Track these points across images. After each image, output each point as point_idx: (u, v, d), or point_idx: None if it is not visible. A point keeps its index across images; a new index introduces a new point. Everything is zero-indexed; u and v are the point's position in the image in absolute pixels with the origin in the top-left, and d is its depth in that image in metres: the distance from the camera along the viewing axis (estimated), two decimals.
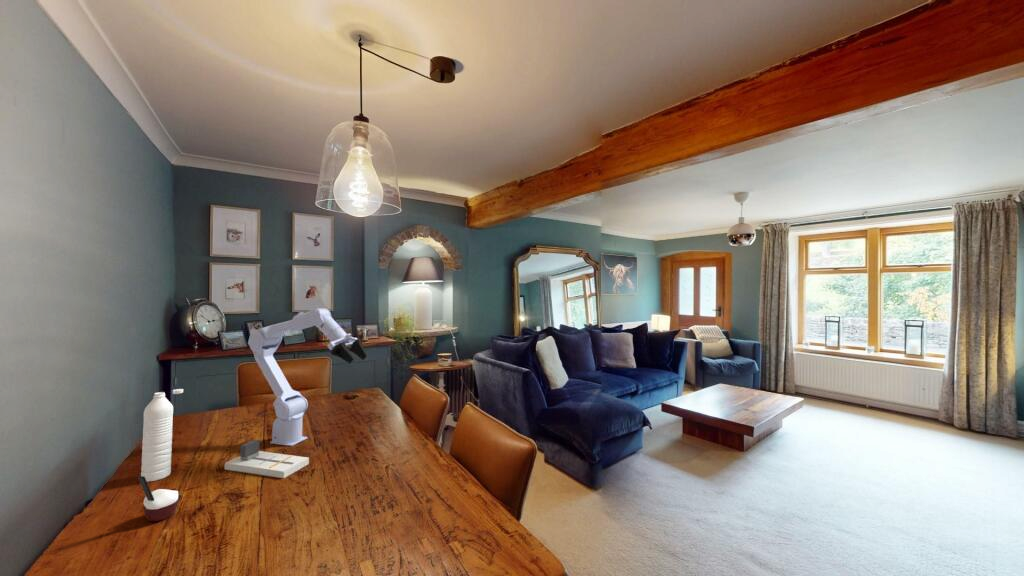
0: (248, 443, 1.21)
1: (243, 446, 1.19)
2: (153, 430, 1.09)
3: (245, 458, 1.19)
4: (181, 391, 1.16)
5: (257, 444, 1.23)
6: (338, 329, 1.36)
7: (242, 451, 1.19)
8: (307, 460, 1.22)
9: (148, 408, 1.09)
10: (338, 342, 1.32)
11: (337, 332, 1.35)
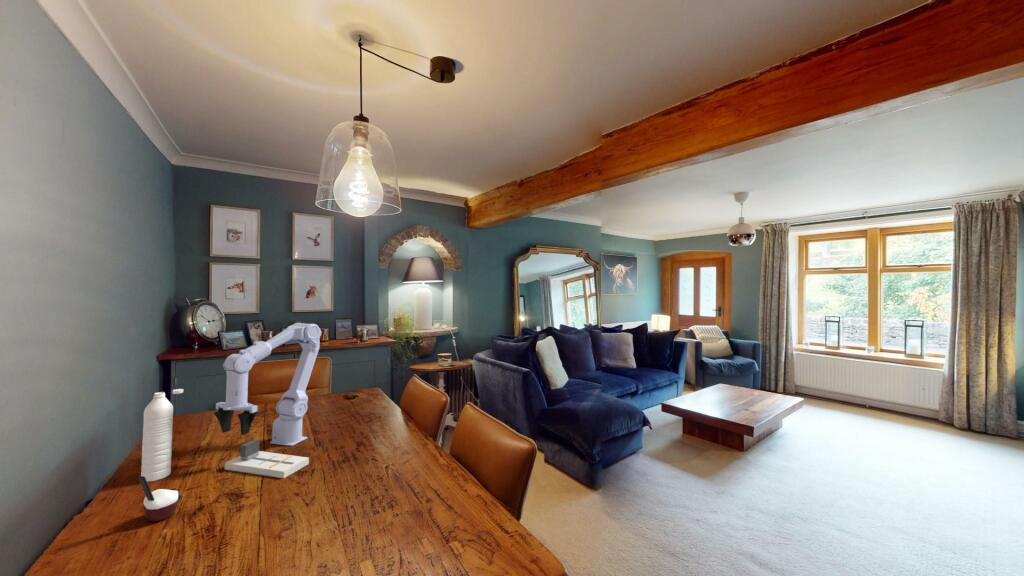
0: (248, 443, 1.21)
1: (243, 446, 1.19)
2: (153, 430, 1.09)
3: (245, 458, 1.19)
4: (181, 391, 1.16)
5: (257, 444, 1.23)
6: (226, 394, 1.21)
7: (242, 451, 1.19)
8: (307, 460, 1.22)
9: (148, 408, 1.09)
10: (224, 406, 1.23)
11: (226, 396, 1.21)
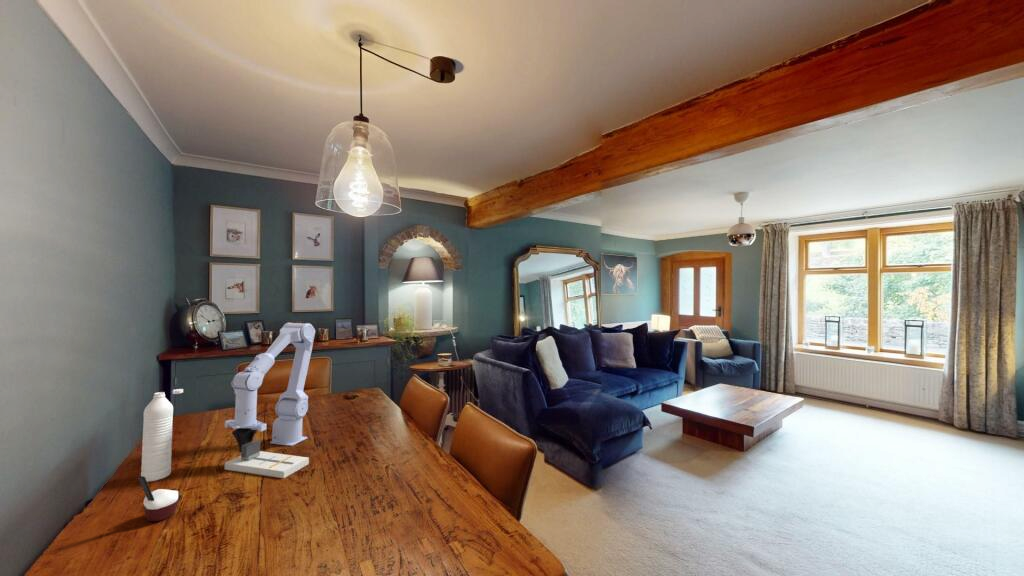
0: (249, 443, 1.21)
1: (244, 446, 1.19)
2: (153, 430, 1.09)
3: (246, 458, 1.19)
4: (181, 391, 1.15)
5: (258, 444, 1.23)
6: (236, 413, 1.20)
7: (243, 451, 1.19)
8: (307, 460, 1.22)
9: (148, 408, 1.09)
10: None
11: (235, 414, 1.20)
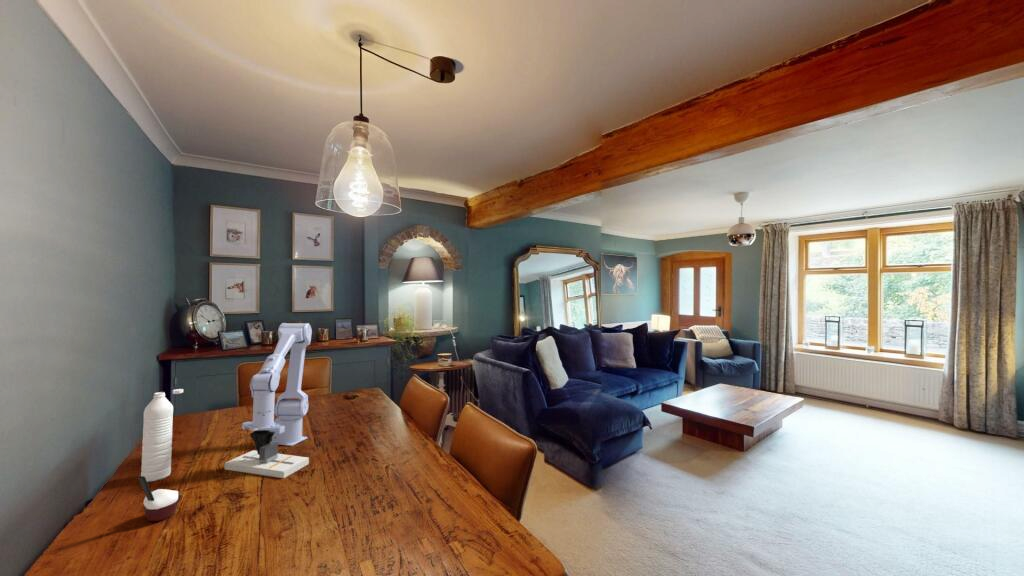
0: (267, 445, 1.19)
1: (263, 448, 1.17)
2: (153, 430, 1.09)
3: (264, 461, 1.18)
4: (181, 391, 1.16)
5: (276, 446, 1.21)
6: (254, 415, 1.18)
7: (261, 454, 1.17)
8: (307, 460, 1.22)
9: (148, 408, 1.09)
10: None
11: None
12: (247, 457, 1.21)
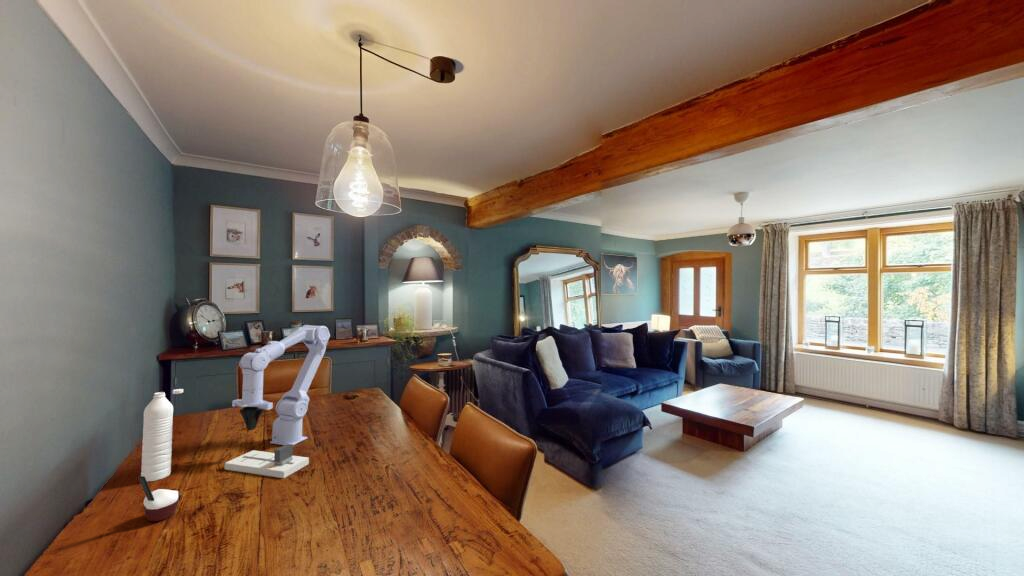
0: (282, 447, 1.18)
1: (278, 450, 1.16)
2: (153, 430, 1.09)
3: (279, 463, 1.16)
4: (181, 391, 1.16)
5: (291, 448, 1.20)
6: (243, 392, 1.24)
7: (276, 456, 1.16)
8: (307, 460, 1.22)
9: (148, 408, 1.09)
10: None
11: (242, 394, 1.25)
12: (247, 457, 1.21)
